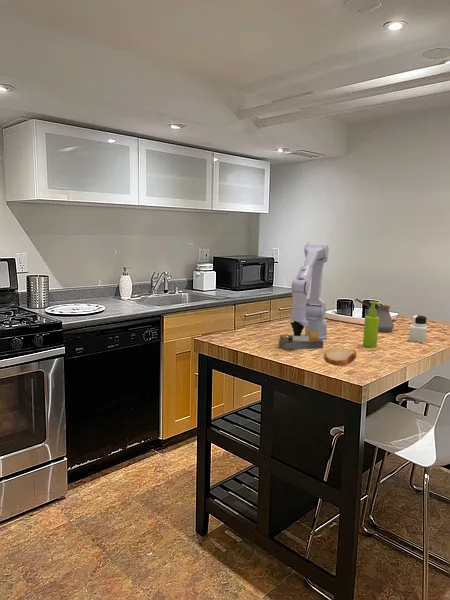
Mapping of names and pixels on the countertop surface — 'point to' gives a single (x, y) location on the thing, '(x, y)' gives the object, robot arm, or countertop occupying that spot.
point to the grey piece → (298, 344)
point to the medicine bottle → (418, 329)
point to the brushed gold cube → (312, 335)
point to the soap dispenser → (371, 326)
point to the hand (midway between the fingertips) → (297, 339)
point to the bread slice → (339, 356)
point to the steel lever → (298, 338)
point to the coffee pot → (382, 317)
